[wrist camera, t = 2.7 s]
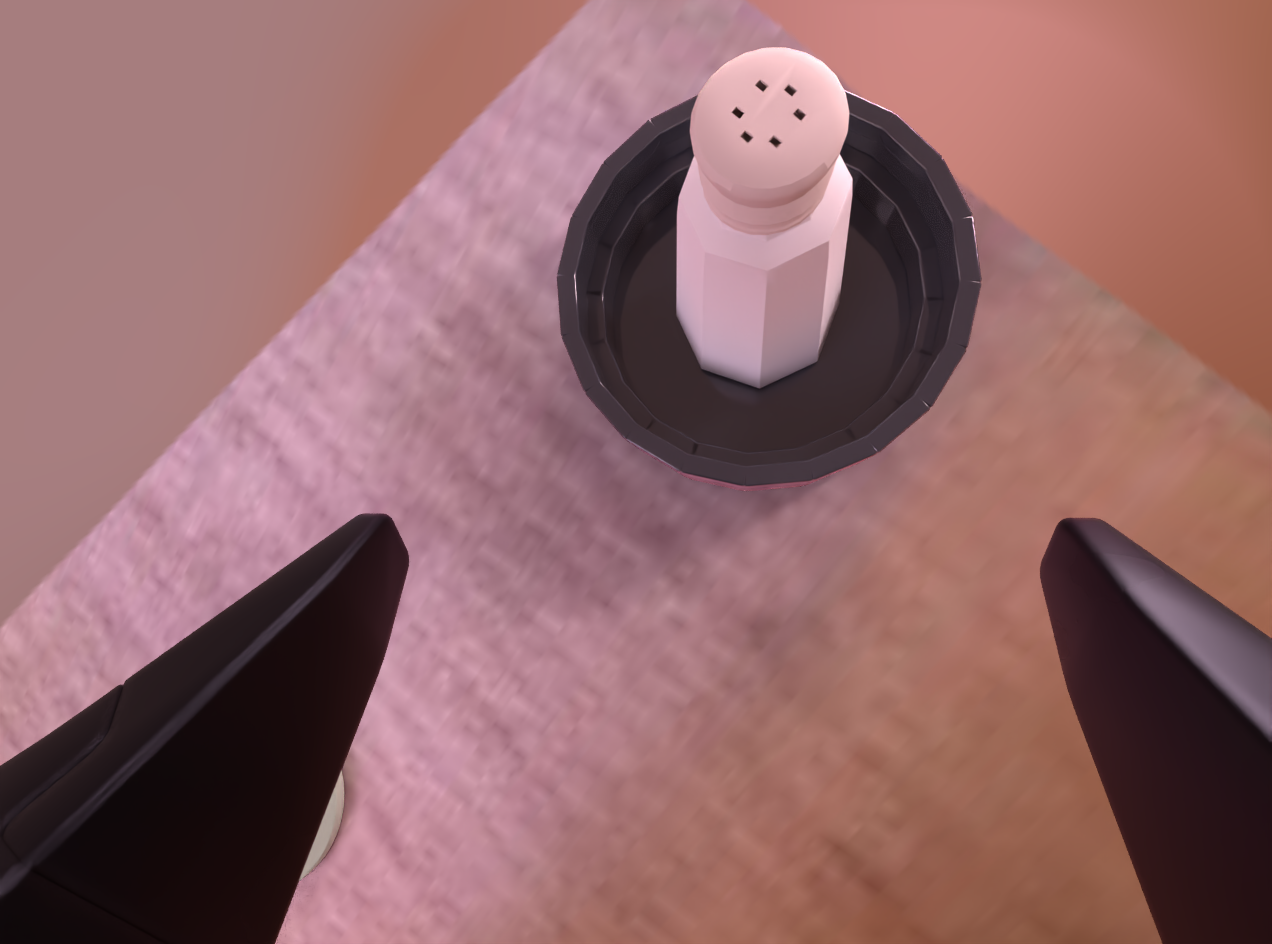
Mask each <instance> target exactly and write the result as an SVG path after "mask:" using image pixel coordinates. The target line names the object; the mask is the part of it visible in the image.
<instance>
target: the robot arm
mask: <svg viewBox="0 0 1272 944" xmlns="http://www.w3.org/2000/svg"><path fill="white" fill-rule="evenodd" d="M408 567H409V555H408V551H407V549H406V547H405V544H404V542H403V540H402V538H401V536H400V534H399V532H398V530H397V528H396V526H395V523H394V521H393V520H392V518H391V517H390V516H388V515H387V514H360V515H358V516H356V517H354V518H353V519H352V520H350V521H349V522H347V523H346V524H345V525H343V526H342V527H340V528H339V529H338V530H336V531H335V532H333V533H332V534H331V535H329V536H328V537H326V538H325V539H324V540H322V541H321V542H319V543H318V544H317V545H315V546H314V547H312V548H311V549H310V550H308V551H307V552H305V553H304V554H303V555H301V556H300V557H298V558H297V559H296V560H294V561H293V562H291V563H290V564H288V565H287V566H286V567H284V568H283V569H281V570H280V571H279V572H277V573H276V574H274V575H273V576H272V577H270V578H269V579H267V580H266V581H265V582H263V583H262V584H260V585H259V586H258V587H256V588H255V589H253V590H252V591H251V592H249V593H248V594H246V595H245V596H244V597H242V598H241V599H239V600H238V601H237V602H235V603H234V604H232V605H231V606H229V607H228V608H227V609H225V610H224V611H222V612H221V613H220V614H218V615H217V616H215V617H214V618H213V619H211V620H210V621H208V622H207V623H206V624H204V625H203V626H201V627H200V628H199V629H197V630H196V631H194V632H193V633H192V634H190V635H189V636H187V637H186V638H184V639H183V640H182V641H180V642H179V643H177V644H176V645H175V646H173V647H172V648H170V649H169V650H168V651H166V652H165V653H163V654H162V655H161V656H159V657H158V658H156V659H155V660H154V661H152V662H151V663H149V664H148V665H147V666H145V667H144V668H142V669H141V670H140V671H138V672H137V673H135V674H134V675H132V676H131V677H130V678H128V679H127V680H126V681H125V683H124V685H118V686H117V687H115V688H114V689H113V690H111V691H110V692H108V693H107V694H106V695H104V696H103V697H101V698H100V699H99V700H97V701H96V702H94V703H93V704H92V705H90V706H89V707H87V708H86V709H84V710H83V711H82V712H80V713H79V714H77V715H76V716H74V717H73V718H71V719H70V720H69V721H67V722H66V723H64V724H63V725H61V726H60V727H58V728H57V729H56V730H54V731H53V732H51V733H50V734H48V735H47V736H45V737H44V738H42V739H41V740H39V741H38V742H36V743H35V744H33V745H32V746H30V747H29V748H27V749H26V750H24V751H22V752H21V753H19V754H18V755H16V756H15V757H13V758H12V759H10V760H9V761H7V762H6V763H4V764H2V765H1V766H0V944H275V942H276V939H277V937H278V934H279V932H280V929H281V926H282V924H283V921H284V918H285V916H286V913H287V911H288V908H289V905H290V903H291V900H292V898H293V895H294V892H295V890H296V887H297V885H298V882H299V879H300V877H301V874H302V872H303V869H304V866H305V864H306V861H307V859H308V856H309V853H310V851H311V848H312V846H313V843H314V840H315V838H316V835H317V833H318V830H319V827H320V825H321V822H322V820H323V817H324V814H325V812H326V809H327V807H328V804H329V801H330V799H331V796H332V794H333V791H334V788H335V786H336V783H337V781H338V778H339V775H340V773H341V770H342V768H343V765H344V762H345V760H346V757H347V755H348V752H349V749H350V747H351V744H352V742H353V739H354V736H355V734H356V731H357V729H358V726H359V723H360V721H361V718H362V716H363V713H364V710H365V708H366V705H367V703H368V700H369V697H370V695H371V692H372V690H373V687H374V684H375V682H376V679H377V677H378V674H379V671H380V668H381V665H382V663H383V660H384V657H385V653H386V650H387V647H388V643H389V639H390V636H391V632H392V628H393V624H394V620H395V617H396V613H397V609H398V605H399V602H400V598H401V594H402V590H403V586H404V583H405V579H406V575H407V571H408ZM1040 579H1041V583H1042V588H1043V592H1044V596H1045V600H1046V604H1047V608H1048V612H1049V616H1050V621H1051V625H1052V629H1053V633H1054V637H1055V641H1056V645H1057V650H1058V654H1059V658H1060V662H1061V666H1062V670H1063V674H1064V678H1065V681H1066V685H1067V689H1068V692H1069V695H1070V698H1071V701H1072V704H1073V706H1074V709H1075V712H1076V715H1077V717H1078V720H1079V723H1080V725H1081V728H1082V731H1083V733H1084V736H1085V739H1086V741H1087V744H1088V747H1089V749H1090V752H1091V755H1092V757H1093V760H1094V763H1095V765H1096V768H1097V771H1098V773H1099V776H1100V778H1101V781H1102V784H1103V786H1104V789H1105V792H1106V794H1107V797H1108V800H1109V802H1110V805H1111V808H1112V810H1113V813H1114V816H1115V818H1116V821H1117V824H1118V826H1119V829H1120V832H1121V834H1122V837H1123V840H1124V842H1125V845H1126V848H1127V850H1128V853H1129V856H1130V858H1131V861H1132V864H1133V866H1134V869H1135V872H1136V874H1137V877H1138V880H1139V882H1140V885H1141V888H1142V890H1143V893H1144V896H1145V898H1146V901H1147V904H1148V906H1149V909H1150V912H1151V914H1152V917H1153V920H1154V922H1155V925H1156V928H1157V930H1158V933H1159V936H1160V938H1161V941H1162V943H1163V944H1272V638H1270V637H1269V636H1267V635H1266V634H1265V633H1263V632H1262V631H1260V630H1259V629H1257V628H1256V627H1255V626H1253V625H1252V624H1250V623H1249V622H1247V621H1246V620H1245V619H1243V618H1242V617H1240V616H1239V615H1237V614H1236V613H1235V612H1233V611H1232V610H1230V609H1229V608H1227V607H1226V606H1225V605H1223V604H1222V603H1220V602H1219V601H1217V600H1216V599H1215V598H1213V597H1212V596H1210V595H1209V594H1208V593H1206V592H1205V591H1203V590H1202V589H1200V588H1199V587H1198V586H1196V585H1195V584H1193V583H1192V582H1190V581H1189V580H1188V579H1186V578H1185V577H1183V576H1182V575H1180V574H1179V573H1178V572H1176V571H1175V570H1173V569H1172V568H1170V567H1169V566H1168V565H1166V564H1165V563H1163V562H1162V561H1161V560H1159V559H1158V558H1156V557H1155V556H1153V555H1152V554H1151V553H1149V552H1148V551H1146V550H1145V549H1143V548H1142V547H1141V546H1139V545H1138V544H1136V543H1135V542H1133V541H1132V540H1131V539H1129V538H1128V537H1126V536H1125V535H1123V534H1122V533H1121V532H1119V531H1118V530H1116V529H1115V528H1113V527H1112V526H1111V525H1109V524H1108V523H1106V522H1105V521H1103V520H1100V519H1096V518H1066V519H1063V520H1061V521H1060V522H1059V523H1058V525H1057V526H1056V528H1055V531H1054V533H1053V535H1052V538H1051V540H1050V542H1049V545H1048V547H1047V550H1046V552H1045V554H1044V557H1043V559H1042V562H1041V566H1040Z"/></svg>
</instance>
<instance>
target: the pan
mask: <svg viewBox="0 0 1272 944" xmlns="http://www.w3.org/2000/svg"><path fill="white" fill-rule="evenodd" d="M844 91H845V93H846V98H847V103H848V108H849V122H848V133H847V135H846V138H845V141H844V143H843V146H842V149H841V151H840V156H841V158H842V160H843V162H844V163H845V165H846V167H847V169H848V171H849V173H850V175H851V177H852V202H851V211H850V219H849V227H848V235H847V243H846V251H845V260H844V268H843V276H842V284H841V292H840V300H839V305H838V308H837V310H836V313H835V316H834V318H833V321H832V324H831V326H830V329H829V332H828V334H827V337H826V340H825V342H824V345H823V348H822V350H821V353H820V356H819V358H818V361H817V362H815V363H813V364H811V365H809V366H807V367H805V368H803V369H800V370H798V371H796V372H794V373H792V374H790V375H788V376H785V377H783V378H781V379H779V380H777V381H775V382H772V383H770V384H768V385H766V386H764V387H762V388H760V389H759V388H756V387H753V386H750V385H747V384H744V383H741V382H738V381H736V380H733V379H730V378H727V377H724V376H721V375H718V374H715V373H712V372H709V371H706V370H703V369H701V367H700V365H699V363H698V361H697V359H696V356H695V354H694V352H693V350H692V348H691V346H690V344H689V341H688V339H687V337H686V335H685V333H684V331H683V329H682V326H681V324H680V322H679V320H678V318H677V316H676V302H677V209H678V200H679V195H680V192H681V189H682V187H683V184H684V181H685V179H686V176H687V173H688V171H689V168H690V166H691V163H692V160H693V158H694V153H693V148H692V142H691V136H690V123H691V113H692V110H693V107H694V105H695V102H696V99H697V97H698V95H697V96H695V97H693V98H691V99H689V100H687V101H685V102H683V103H681V104H679V105H677V106H675V107H673V108H671V109H669V110H667V111H665V112H663V113H661V114H659V115H657V116H655V117H653V118H651V119H650V120H648V121H647V122H646V123H645V124H644V125H642V126H641V127H640V128H639V129H638V130H637V131H636V132H635V133H634V134H633V135H632V136H631V137H630V138H629V139H627V140H626V141H625V142H624V143H623V144H622V145H621V146H620V147H619V148H618V149H617V150H616V151H615V152H613V153H612V154H611V155H610V156H609V157H608V158H607V159H606V160H605V161H604V164H602V165H601V167H600V169H599V170H598V172H597V174H596V175H595V177H594V179H593V180H592V182H591V184H590V186H589V187H588V189H587V191H586V192H585V194H584V196H583V197H582V199H581V201H580V203H579V204H578V206H577V208H576V209H575V211H574V213H573V215H572V217H571V219H570V223H569V228H568V232H567V236H566V240H565V244H564V248H563V252H562V257H561V261H560V265H559V269H558V273H557V275H558V276H557V286H558V300H559V314H560V328H561V336H562V339H563V342H564V344H565V347H566V349H567V352H568V354H569V356H570V359H571V361H572V364H573V366H574V369H575V371H576V373H577V376H578V378H579V381H580V383H581V386H582V388H583V390H584V392H586V395H587V396H588V397H589V399H590V400H591V401H592V402H593V403H594V404H595V406H596V407H597V408H598V409H599V410H600V411H601V413H602V414H603V415H604V416H605V417H606V418H607V419H608V421H609V422H610V423H611V424H612V425H613V426H614V428H615V429H616V430H617V431H618V432H619V433H620V434H621V436H622V437H623V438H624V439H626V440H627V441H628V442H629V443H631V444H632V445H634V446H635V447H637V448H638V449H639V450H641V451H642V452H644V453H646V454H647V455H649V456H651V457H652V458H654V459H656V460H658V461H659V462H661V463H663V464H664V465H666V466H668V467H669V468H671V469H673V470H674V471H676V472H678V473H679V474H681V475H683V476H684V477H687V478H689V479H691V480H696V481H700V482H705V483H709V484H714V485H718V486H722V487H727V488H731V489H736V490H740V491H744V490H745V491H756V490H767V489H779V488H790V487H801V486H803V485H804V486H806V485H808V484H810V483H813V482H815V481H818V480H820V479H822V478H825V477H827V476H830V475H832V474H834V473H837V472H839V471H842V470H844V469H846V468H849V467H851V466H853V465H856V464H858V463H860V462H862V461H864V460H866V459H868V458H870V457H872V456H874V455H876V454H877V453H879V452H880V451H882V450H883V449H884V448H885V447H886V446H888V445H889V444H890V443H891V442H892V441H893V440H895V439H896V438H897V437H898V436H899V435H900V434H902V433H903V432H904V431H905V430H906V429H907V428H909V427H910V426H911V425H912V424H913V423H915V422H916V421H917V420H918V419H919V418H920V417H922V416H923V415H924V414H925V413H926V412H927V411H929V409H930V407H932V406H933V404H934V403H935V401H936V400H937V398H938V396H939V395H940V393H941V391H942V390H943V388H944V386H945V385H946V383H947V381H948V380H949V378H950V376H951V375H952V373H953V372H954V370H955V368H956V367H957V365H958V363H959V362H960V360H961V358H962V357H963V355H964V353H965V352H966V348H967V347H968V343H969V339H970V334H971V330H972V325H973V320H974V316H975V311H976V307H977V302H978V297H979V293H980V288H981V272H980V265H979V257H978V250H977V242H976V234H975V227H974V219H973V217H972V213H971V211H970V209H969V207H968V205H967V203H966V201H965V199H964V197H963V195H962V193H961V191H960V189H959V188H958V186H957V184H956V182H955V180H954V178H953V176H952V174H951V172H950V170H949V168H948V166H947V164H946V163H945V161H944V159H942V156H941V155H940V154H939V153H938V152H937V151H936V150H935V149H934V148H933V147H931V146H930V145H929V144H928V143H927V142H926V141H925V140H924V139H923V138H922V137H920V135H919V134H917V133H916V132H915V131H914V130H913V129H912V128H911V127H910V126H909V125H908V124H907V123H906V122H905V121H903V120H902V119H901V118H900V117H899V116H898V115H897V114H894V112H892V111H890V110H888V109H885V108H883V107H881V106H879V105H877V104H874V103H872V102H870V101H868V100H866V99H863V98H861V97H859V96H857V95H855V94H852V93H850V92H848V91H846V90H844Z"/></svg>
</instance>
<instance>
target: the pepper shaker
mask: <svg viewBox="0 0 1272 944" xmlns="http://www.w3.org/2000/svg"><path fill="white" fill-rule="evenodd" d="M848 122H849V108H848V103H847V98H846V93H845V91H844V89H843V87H842V85H841V84H840V82H839V80H838V78H837V76H836V75H835V74H834V73H833V72H832V71H831V70H830V69H829V68H828V67H827V66H826V65H825V64H824V63H823V62H822V61H820V60H818V59H816V58H815V57H813V56H811V55H809V54H807V53H806V52H802V51H798V50H793V49H789V48H785V47H782V48H762V49H759V50H755V51H751V52H747V53H744V54H742V55H740V56H738V57H736V58H735V59H733V60H731V61H729V62H727V63H726V64H724V65H723V66H722V67H721V68H720V69H719V70H718V71H716V72H715V73H714V74H713V75H712V76H711V77H710V78H709V80H708V81H707V82H706V84H705V85H704V87H703V88H702V90H701V91H700V92H699V94H698V97H697V99H696V102H695V105H694V107H693V110H692V113H691V123H690V136H691V142H692V148H693V153H694V158H693V160H692V163H691V166H690V168H689V171H688V173H687V176H686V179H685V181H684V184H683V187H682V189H681V192H680V195H679V200H678V209H677V302H676V316H677V318H678V320H679V322H680V324H681V326H682V329H683V331H684V333H685V335H686V337H687V339H688V341H689V344H690V346H691V348H692V350H693V352H694V354H695V356H696V359H697V361H698V363H699V365H700V367H701V369H703V370H706V371H709V372H712V373H715V374H718V375H721V376H724V377H727V378H730V379H733V380H736V381H738V382H741V383H744V384H747V385H750V386H753V387H756V388H759V389H760V388H762V387H764V386H766V385H768V384H770V383H772V382H775V381H777V380H779V379H781V378H783V377H785V376H788V375H790V374H792V373H794V372H796V371H798V370H800V369H803V368H805V367H807V366H809V365H811V364H813V363H815V362H817V361H818V358H819V356H820V353H821V350H822V348H823V345H824V342H825V340H826V337H827V334H828V332H829V329H830V326H831V324H832V321H833V318H834V316H835V313H836V310H837V308H838V305H839V300H840V292H841V284H842V276H843V268H844V260H845V251H846V243H847V235H848V227H849V219H850V211H851V202H852V177H851V175H850V173H849V171H848V169H847V167H846V165H845V163H844V162H843V160H842V158H841V156H840V151H841V149H842V146H843V143H844V141H845V138H846V135H847V133H848Z"/></svg>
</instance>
